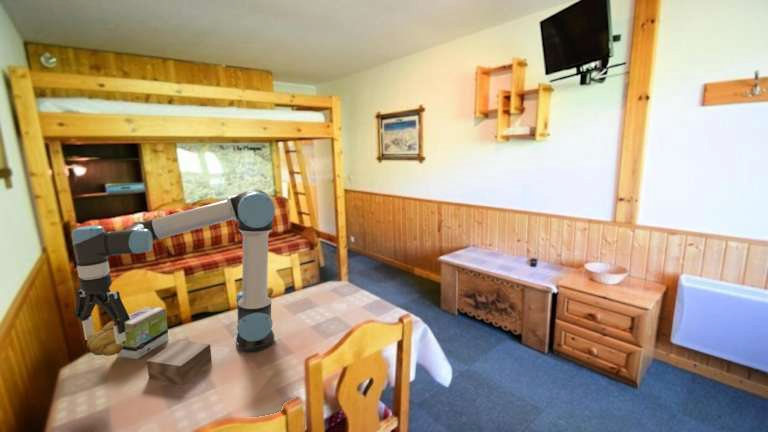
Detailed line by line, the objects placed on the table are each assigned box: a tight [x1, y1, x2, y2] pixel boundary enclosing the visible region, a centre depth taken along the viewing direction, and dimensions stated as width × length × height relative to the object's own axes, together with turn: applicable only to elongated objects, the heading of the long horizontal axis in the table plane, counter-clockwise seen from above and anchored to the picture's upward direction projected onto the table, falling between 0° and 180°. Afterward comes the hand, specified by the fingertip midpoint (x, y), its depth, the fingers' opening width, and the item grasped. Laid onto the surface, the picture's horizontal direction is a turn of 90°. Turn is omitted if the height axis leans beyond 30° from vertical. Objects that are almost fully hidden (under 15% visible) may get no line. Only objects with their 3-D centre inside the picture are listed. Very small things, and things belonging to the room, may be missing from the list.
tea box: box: [116, 305, 169, 360], centre depth 138 cm, size 15×10×15 cm, turn 168°
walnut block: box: [146, 339, 212, 386], centre depth 125 cm, size 14×14×7 cm
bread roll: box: [86, 320, 126, 357], centre depth 110 cm, size 13×10×8 cm
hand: (105, 340), depth 110 cm, fingers closed on bread roll, 12 cm apart
